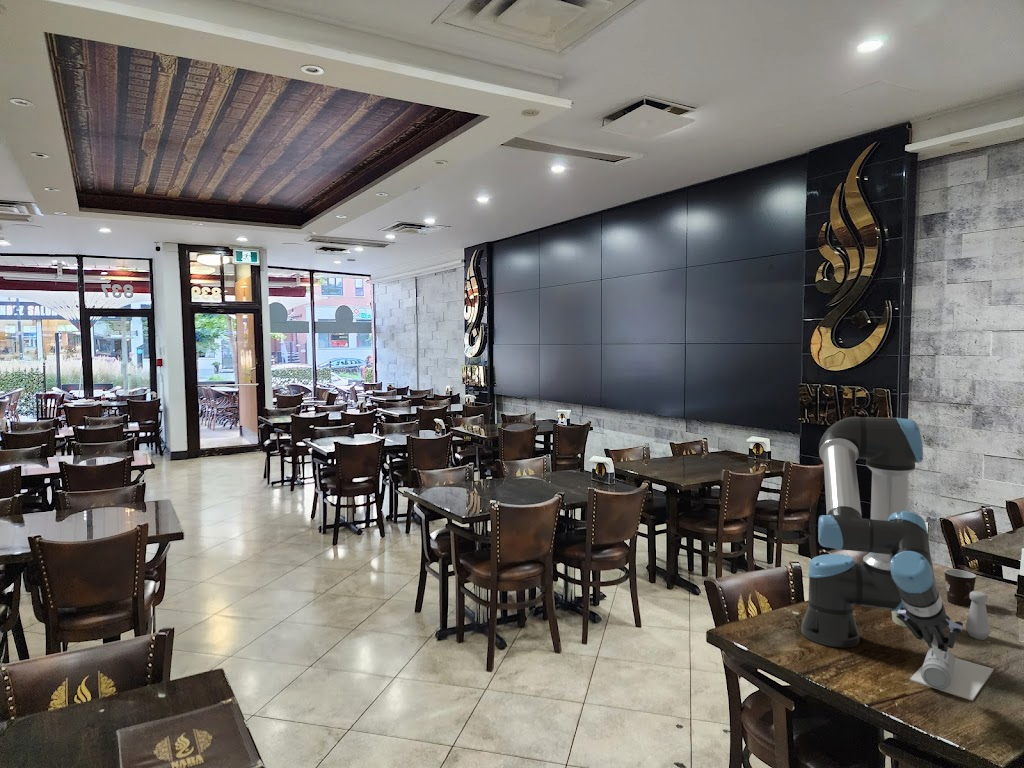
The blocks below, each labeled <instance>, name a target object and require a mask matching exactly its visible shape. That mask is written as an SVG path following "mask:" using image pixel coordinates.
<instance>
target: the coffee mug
mask: <svg viewBox="0 0 1024 768" xmlns="http://www.w3.org/2000/svg"><path fill="white" fill-rule="evenodd" d="M944 580H945V581H944V582H945V588H946V597H947V598H946V599H947V602H948V603H949V604H950V603H951V604H950V605H953V604H954V605H953V606H956V605H958V606H957V607H961V606H965V607H964V608H967V607H968V606H971V602H972V600H971V599H970V592H972V591H975V587H976V580H977V575H976V574H975V573H973V572H971V571H967V570H963V569H958V568H956V569H955V568H947V569H944ZM968 608H969V607H968Z"/></svg>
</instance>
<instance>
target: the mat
mask: <svg viewBox="0 0 1024 768" xmlns="http://www.w3.org/2000/svg"><path fill="white" fill-rule="evenodd" d="M954 658H955V665H954V669H953V673H952V677H951V681H950V684H949V686H948V687H946V688H944V689H937V690H939V691H941V692H944V693H947V694H950V695H953V696H955V697H959V698H962V699H966V700H969V701H974V699H975V698H976V697H977V695H978V694H979V692H980V691H981V690H982V688H983V686H984V685H985V683H986V682H987V681H988V679H989V677H990V676H991V674H992V673H993V671H994V668H992V667H988V666H985V665H981V664H979V663H975V662H971V661H968V660H965V659H962V658H958V657H955V656H954ZM922 667H923V664H922V665H921V666H920V667H919V668H918V670H916V672H915V673H914V674H913V675H912V676H911V677H910V678H909V681H910V682H914V683H915V684H916V683H917V684H920V685H923V686H925V687H928V688H932V687H931V686H929V685H928V684H926V683H925V682H924V680H923V679H922V676H921V670H922Z"/></svg>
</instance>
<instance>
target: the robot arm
mask: <svg viewBox="0 0 1024 768" xmlns="http://www.w3.org/2000/svg"><path fill="white" fill-rule="evenodd" d="M818 453H819V454H818V455H819V458H820V459H821V461H822V462H823V472H824V473H823V475H824V489H825V490H824V492H825V494H824V495H825V505H826V506H825V508H826V511H825V512H826V513H825V514H826V515H825V514H824V515H823V514H822V515H819V517H818V524H817V525H818V526H817V527H818V529H817V532H818V543H819V545H820V546H822V547H824V548H828V549H829V548H830V549H834V550H839V551H840V550H842V551H852V552H854V551H855V552H863V553H867V554H865V555H863V558H862V563H858V562H856V561H855V560H854V558H853V557H851V556H849V555H844V554H841V553H840V554H838V553H835V554H834V553H832V554H831V553H827V554H820V555H817V556H814V557H813V558H812V559H810V561H809V568H808V569H809V570H808V572H807V576H808V577H809V578H808V603H807V604H808V606H807V609H806V612H805V613H804V617H803V620H802V621H801V628H800V629H801V630H800V632H801V634H802V635H803V636H804V637H805V638H806V639H807V640H809V641H811V642H814V643H817V644H820V645H822V646H827V647H832V648H840V649H841V648H842V649H843V648H853V647H857V646H858V645H859V643H860V631H859V628H858V627H859V626H858V625H857V622H856V618H855V615H854V606H859V607H866V608H871V609H873V608H874V609H881V610H887V611H890V612H892V611H898V613H897V616H896V617H897V618H899V619H900V620H901V621H903V622H904V624H905V625H906V626H907V627H908V628H907V629H908V630H909V631H910V632H911V633H912V634H913V636H914V637H915V638H916V639H917V640H918V641H919V640H920V641H922V640H924V642H925V643H927V646H928V648H929V649H930V648H933V650H934V653H935V656H936V658H938V659H942V660H944V656H945V652H947V650H949V649H953V648H954V646H955V642H956V639H957V636H960V635H961V634H962V632H963V631H962V630H963V626H964V623H963V622H962V621H959V620H958V621H953V620H951V618H950V617H949V616H948V615H947V612H946V609H945V606H944V602H943V599H942V597H941V594H940V591H939V588H938V585H937V581H936V578H935V572H934V567H933V559H932V556H931V548H930V541H929V540H930V539H929V538H930V537H929V533H928V529H927V525H926V522H925V520H924V518H923V517H922V516H921V515H919V514H918V513H917V512H916V513H915V512H912V511H908V491H909V489H908V488H909V487H908V486H909V475H910V473H913V471H915V470H916V464H917V463H918V464H919V463H921V462H923V460H924V457H923V456H924V447H923V439H922V435H921V431H920V428H919V424H917V422H916V421H915V420H913V419H911V418H910V419H909V418H902V417H878V416H877V417H873V416H872V417H871V416H870V417H868V416H866V417H863V416H862V417H861V416H850V417H845V418H843V419H841V420H838V421H836V422H834V423H833V424H832V425H831V426H829V427H828V428H827V429H826V431H825V432H824V433H823V435H822V437H821V439H820V441H819V445H818ZM858 459H859V460H866V461H865V466H866V467H867V468H868V469H869V470H870V471H871V498H870V518H863V516H862V507H861V497H860V489H859V482H858V480H859V479H858V473H857V472H858V471H857V463H856V461H857V460H858ZM947 627H948V629H949V635H948V637H947V636H946V631H945V630H944V628H947Z"/></svg>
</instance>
